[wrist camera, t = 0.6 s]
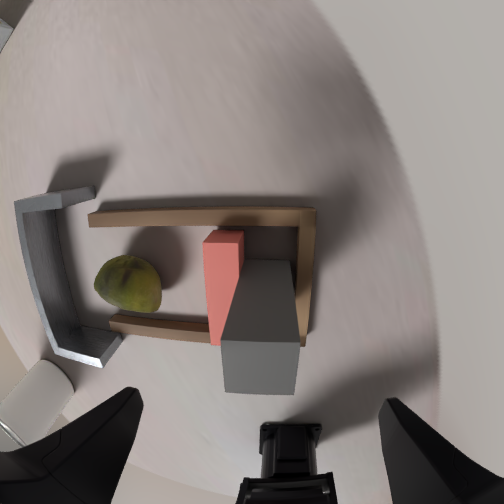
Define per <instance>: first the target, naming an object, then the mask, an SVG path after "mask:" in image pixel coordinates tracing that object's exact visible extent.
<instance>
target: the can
mask: <svg viewBox="0 0 504 504" xmlns="http://www.w3.org/2000/svg"><path fill="white" fill-rule="evenodd" d="M73 394H74V389H73V385H72V383H71V381H70V379H69V378H68V377H67V375H66V374H65V373H64V372H63V371H62V370H61V369H60V368H59V367H58V366H57V365H55V364H54V363H52V362H50V361H48V360H40V361H38V362H37V363H36V364H35V365H34V366H33V367H32V368H31V370H30V371H29V372H28V373H27V374H26V375H25V376H24V377H23V378H22V379H21V380H20V382H19V383H18V384H17V385H16V386H15V387H14V388H13V389H12V390H11V392H10V393H9V394H8V395H7V396H6V397H5V399H4V400H3V401H2V402H1V403H0V427H1V428H2V429H3V430H4V431H5V432H6V433H7V435H9V436H10V438H12V439H13V440H14V441H15V442H16V443H17V444H18V445H20V446H21V447H24V446H27V445H29V444H32V443H34V442H36V441H38V440H41V439H43V438H44V436H45V435H46V433H47V432H48V430H49V429H50V427H51V426H52V424H53V423H54V421H55V420H56V419H57V417H58V416H59V415H60V413H61V412H62V410H63V409H64V407H65V406H66V405H67V403H68V402H69V400H70V399H71V398H72V396H73Z"/></svg>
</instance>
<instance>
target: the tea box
mask: <svg viewBox="0 0 504 504" xmlns="http://www.w3.org/2000/svg"><path fill="white" fill-rule="evenodd" d="M12 31H13V28H12V27H11V26H9V25H8V24H7V23H6V22H4V21H3V20H2V19H1V18H0V52H1V50H2V49H3V47H4V45H5V43H6V42H7V40H8V38H9V37H10V35H11V33H12Z"/></svg>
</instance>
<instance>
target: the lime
mask: <svg viewBox="0 0 504 504" xmlns="http://www.w3.org/2000/svg"><path fill="white" fill-rule="evenodd" d="M94 289H95V291H97V292H98V294H99V295H100V296H101V297H102V298H103V299H104V300H105V301H107V302H108V303H110V304H112V305H114V306H117V307H119V308H121V309H123V310H127V311H130V310H131V311H137V312H142V313H151V312H154V311H157V310H158V309H159V307H160V305H161V300H162V291H161V281H160V277H159V275H158V273H157V272H156V270H155V269H154V268H153V266H152V265H151V264H150V263H149V262H147V261H145V260H143V259H141V258H138V257H135V256H128V255H121V256H118V257H115V258H113V259H111V260H109V261H107V262H106V263H105V264H104V265H103V266H102V268H101V269H100V271H99V272H98V274H97V276H96V278H95V282H94Z"/></svg>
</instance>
